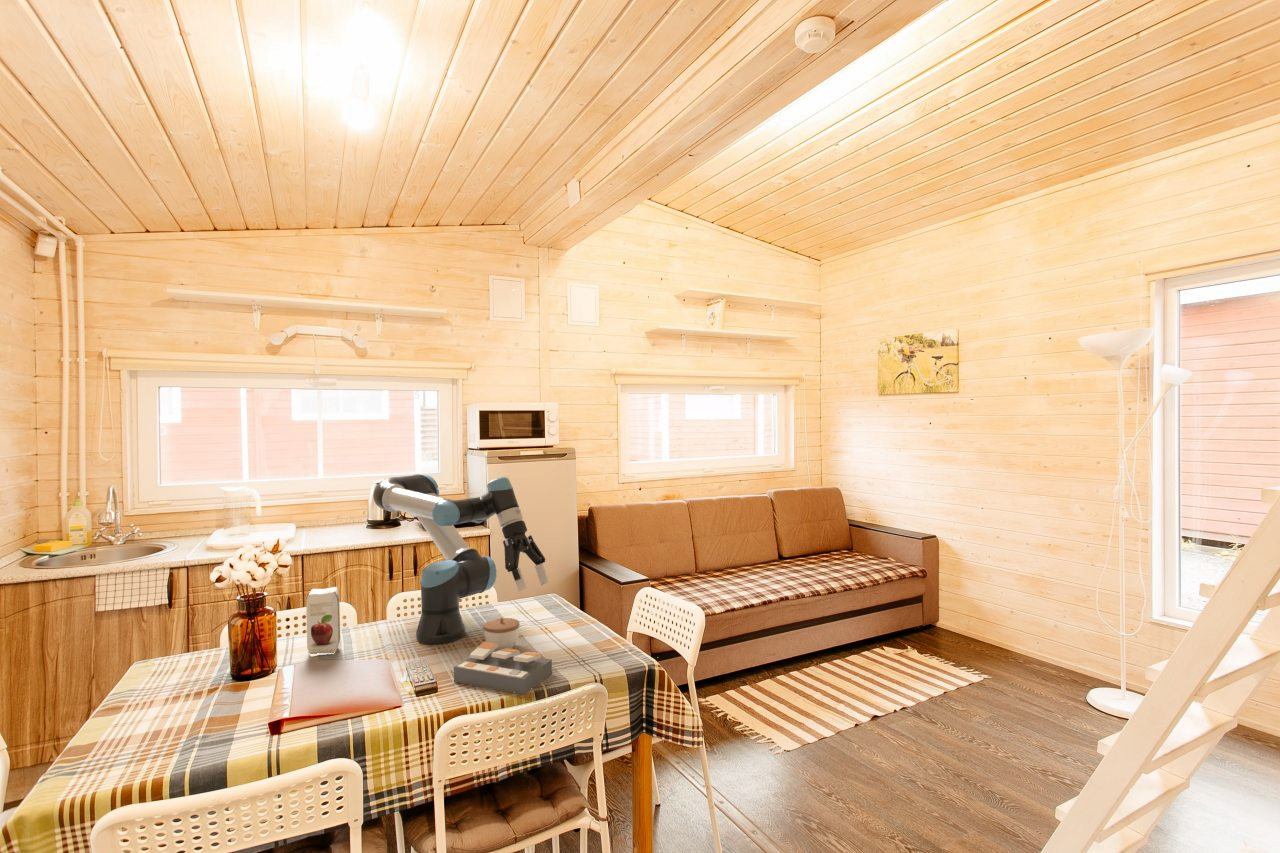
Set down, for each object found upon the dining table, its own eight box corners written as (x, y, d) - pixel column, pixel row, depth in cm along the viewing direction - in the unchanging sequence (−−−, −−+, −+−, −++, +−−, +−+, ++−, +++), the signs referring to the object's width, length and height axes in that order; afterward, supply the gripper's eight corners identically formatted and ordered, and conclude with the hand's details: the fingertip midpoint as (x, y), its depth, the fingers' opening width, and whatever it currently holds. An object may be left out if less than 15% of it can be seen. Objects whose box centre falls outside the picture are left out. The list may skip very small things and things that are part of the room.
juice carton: (310, 649, 193) (309, 588, 193) (341, 646, 196) (340, 585, 196) (306, 658, 186) (304, 595, 186) (337, 655, 189) (336, 592, 188)
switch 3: (513, 660, 167) (513, 655, 167) (527, 655, 173) (527, 651, 173) (527, 662, 165) (527, 658, 165) (541, 657, 171) (541, 653, 172)
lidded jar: (526, 647, 193) (526, 617, 193) (497, 658, 185) (496, 626, 185) (506, 639, 200) (506, 610, 200) (477, 649, 192) (476, 618, 192)
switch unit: (453, 681, 169) (453, 662, 169) (485, 662, 182) (485, 644, 182) (523, 694, 160) (523, 674, 160) (551, 673, 173) (551, 655, 173)
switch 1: (470, 657, 172) (469, 653, 172) (484, 644, 178) (484, 641, 178) (483, 659, 171) (482, 655, 170) (497, 646, 177) (497, 643, 177)
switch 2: (491, 656, 170) (491, 652, 170) (505, 652, 176) (506, 647, 176) (505, 658, 168) (505, 654, 168) (519, 654, 174) (519, 650, 174)
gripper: (499, 521, 190) (522, 588, 185) (541, 517, 213) (563, 577, 208) (480, 530, 192) (502, 597, 187) (523, 526, 216) (544, 585, 211)
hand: (534, 586), depth 198 cm, fingers open, 13 cm apart
